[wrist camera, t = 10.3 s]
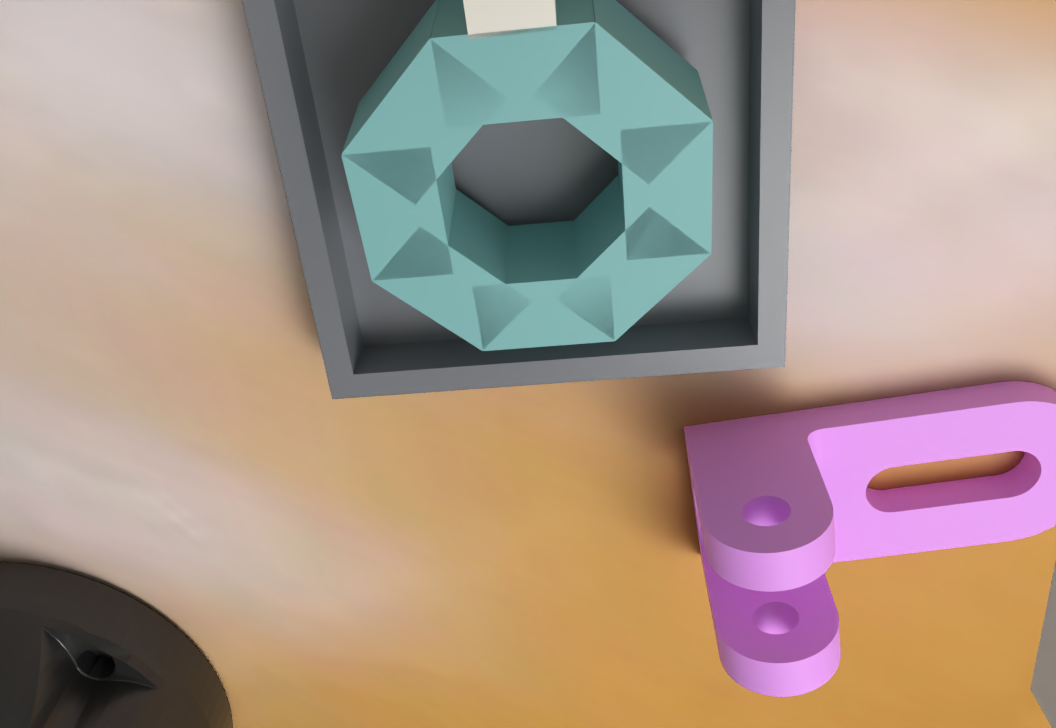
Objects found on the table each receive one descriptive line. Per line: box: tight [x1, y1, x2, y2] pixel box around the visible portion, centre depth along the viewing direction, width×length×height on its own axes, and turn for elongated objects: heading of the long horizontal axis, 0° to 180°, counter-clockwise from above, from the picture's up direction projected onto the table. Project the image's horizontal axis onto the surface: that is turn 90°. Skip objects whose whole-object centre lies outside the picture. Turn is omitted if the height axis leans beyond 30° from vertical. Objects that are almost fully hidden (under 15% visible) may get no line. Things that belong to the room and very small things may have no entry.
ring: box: [341, 0, 713, 351], centre depth 26 cm, size 9×11×3 cm
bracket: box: [684, 381, 1056, 697], centre depth 31 cm, size 13×6×7 cm, turn 101°
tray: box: [242, 0, 795, 399], centre depth 28 cm, size 14×14×2 cm
